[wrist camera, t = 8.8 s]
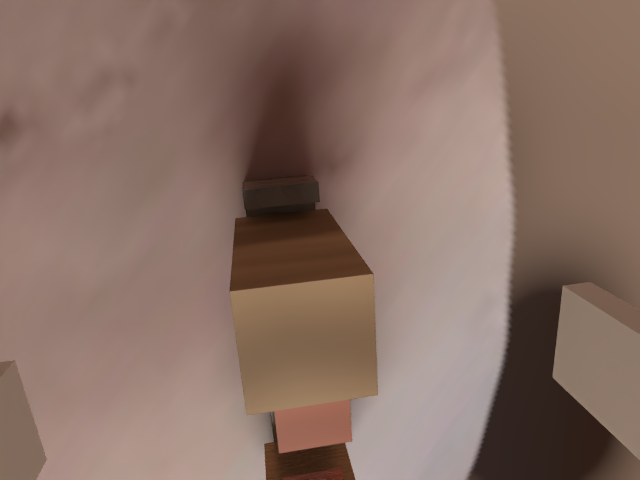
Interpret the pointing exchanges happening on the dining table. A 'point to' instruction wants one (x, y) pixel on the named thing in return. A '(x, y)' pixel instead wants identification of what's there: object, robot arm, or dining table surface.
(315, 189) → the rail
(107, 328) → the dining table surface
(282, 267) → the walnut finger
